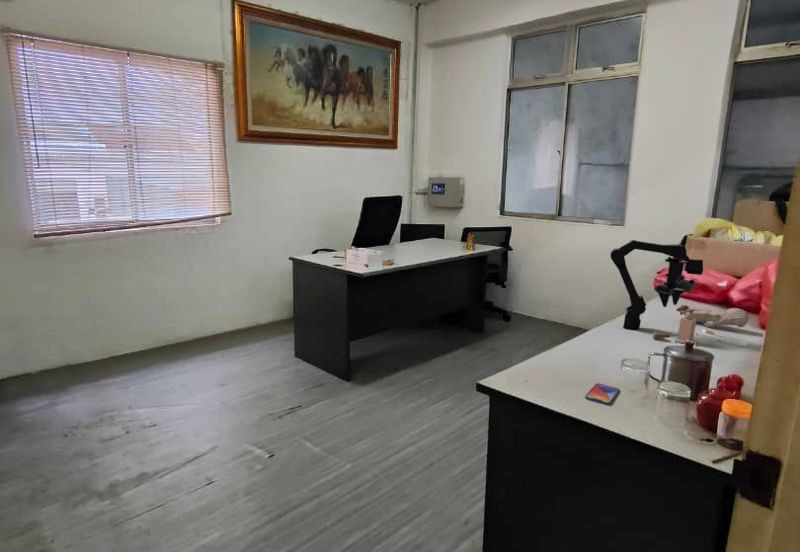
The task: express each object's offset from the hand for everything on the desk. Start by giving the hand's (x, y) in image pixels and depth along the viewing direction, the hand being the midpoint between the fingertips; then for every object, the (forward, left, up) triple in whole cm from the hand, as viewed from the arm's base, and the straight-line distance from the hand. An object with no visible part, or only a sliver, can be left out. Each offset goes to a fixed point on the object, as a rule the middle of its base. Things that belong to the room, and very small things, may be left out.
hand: (669, 305), depth 224 cm
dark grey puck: (-2, -5, -13) cm, 14 cm away
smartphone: (-20, -92, -14) cm, 95 cm away
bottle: (+7, -10, -12) cm, 17 cm away
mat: (+7, -10, -13) cm, 18 cm away
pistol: (+23, +5, -14) cm, 27 cm away
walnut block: (-3, -13, -13) cm, 19 cm away
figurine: (+20, +28, -13) cm, 37 cm away
